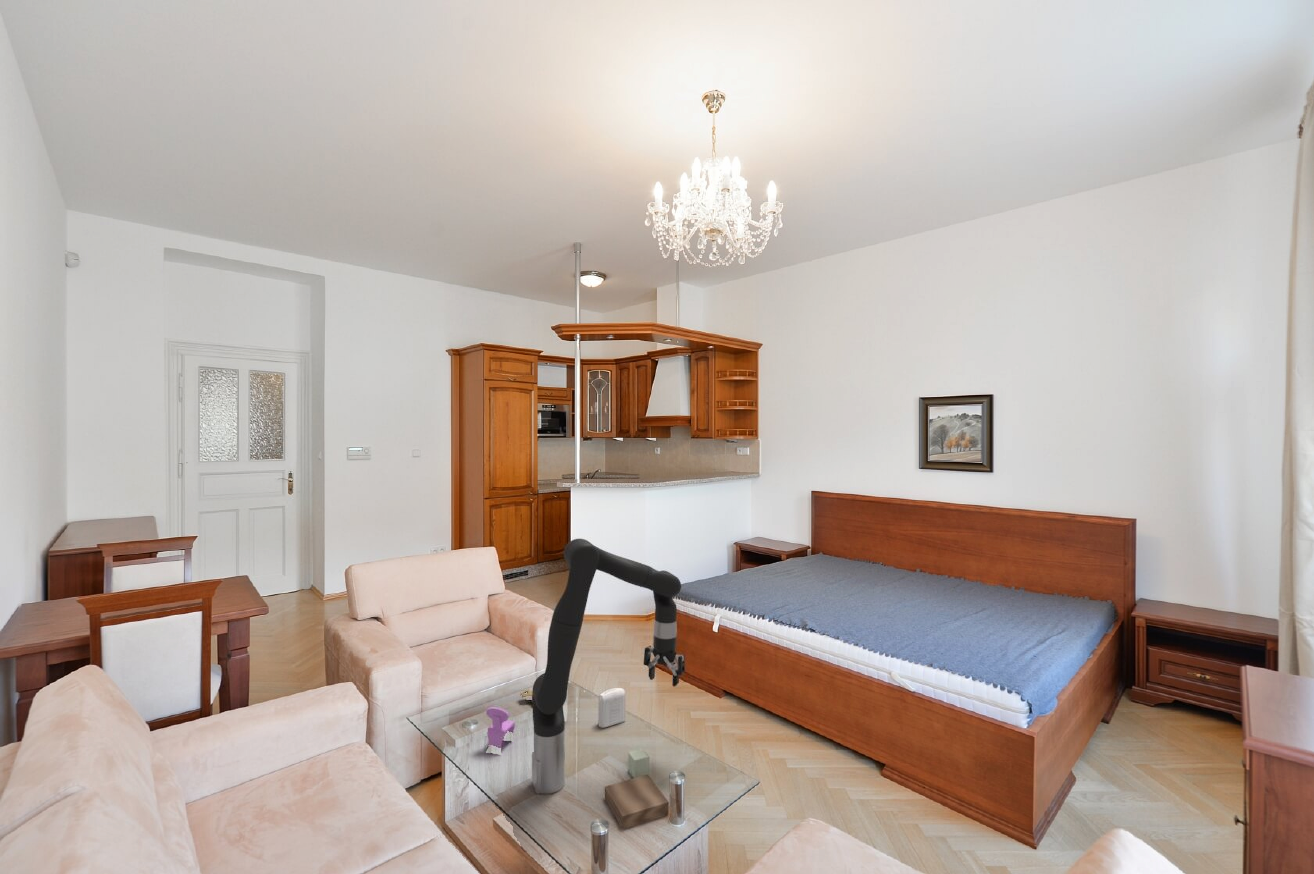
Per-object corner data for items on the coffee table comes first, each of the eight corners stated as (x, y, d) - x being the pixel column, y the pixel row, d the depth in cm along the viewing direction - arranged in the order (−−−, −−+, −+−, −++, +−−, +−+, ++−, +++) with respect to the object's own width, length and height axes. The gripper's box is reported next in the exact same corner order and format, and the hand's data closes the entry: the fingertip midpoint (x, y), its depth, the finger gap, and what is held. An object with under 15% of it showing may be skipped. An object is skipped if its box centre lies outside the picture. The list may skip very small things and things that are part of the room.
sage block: (634, 779, 182) (634, 760, 181) (628, 770, 186) (628, 751, 186) (649, 775, 184) (649, 756, 183) (642, 766, 188) (642, 747, 188)
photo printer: (621, 716, 219) (621, 683, 218) (627, 721, 215) (627, 688, 215) (596, 724, 213) (596, 690, 213) (602, 729, 210) (602, 695, 209)
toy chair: (518, 741, 201) (518, 699, 201) (504, 756, 193) (504, 711, 192) (496, 738, 204) (496, 695, 203) (482, 752, 195) (482, 708, 194)
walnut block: (622, 830, 160) (622, 816, 160) (604, 799, 173) (604, 786, 172) (668, 815, 166) (668, 801, 166) (647, 786, 179) (648, 773, 178)
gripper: (640, 632, 192) (638, 681, 193) (679, 641, 185) (677, 692, 186) (652, 625, 199) (650, 672, 199) (689, 634, 192) (688, 683, 192)
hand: (663, 682), depth 193 cm, fingers open, 8 cm apart
